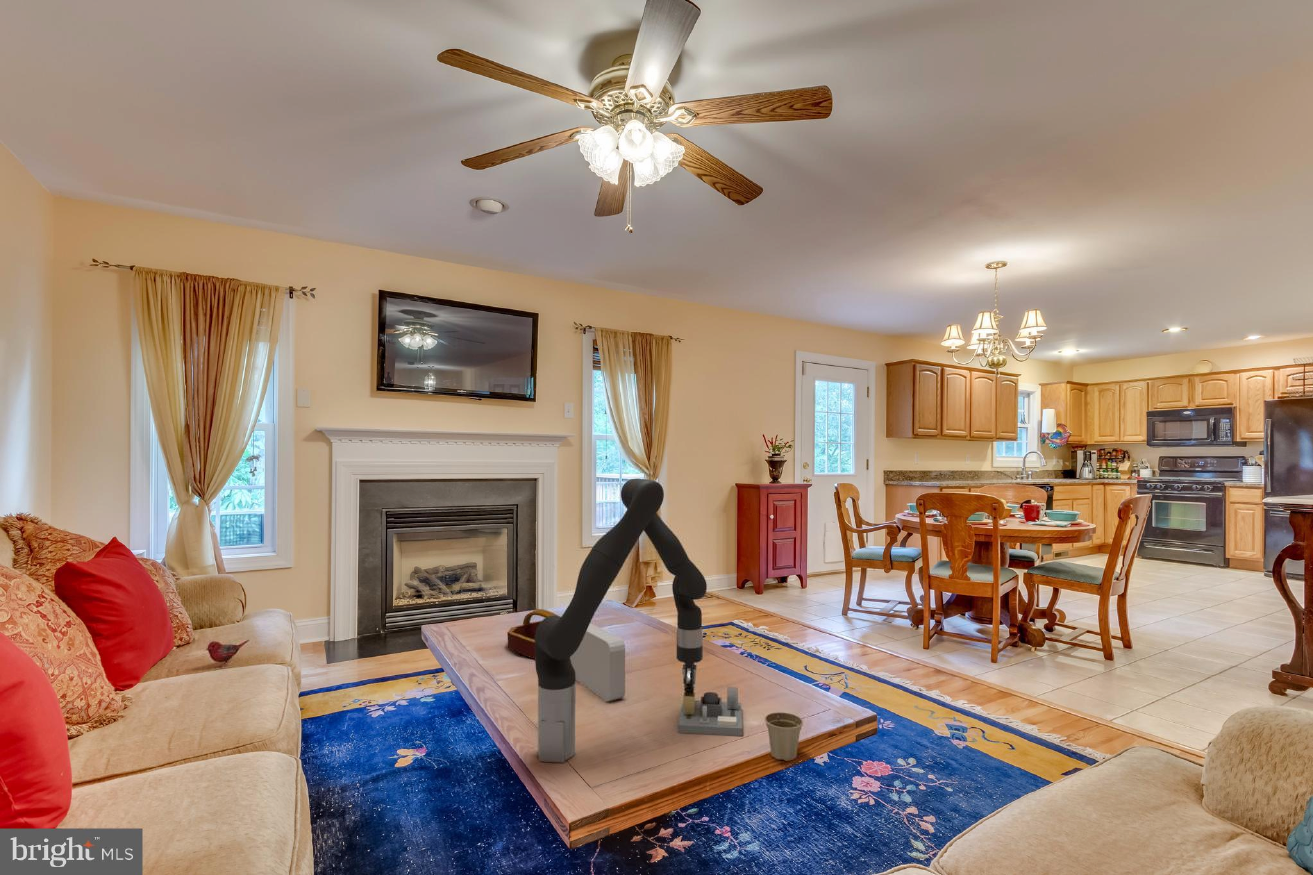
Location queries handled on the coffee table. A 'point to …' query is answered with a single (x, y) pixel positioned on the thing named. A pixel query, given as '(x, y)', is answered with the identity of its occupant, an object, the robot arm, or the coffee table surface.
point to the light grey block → (732, 697)
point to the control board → (711, 719)
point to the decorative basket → (526, 634)
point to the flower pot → (783, 734)
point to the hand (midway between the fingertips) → (689, 703)
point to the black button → (711, 698)
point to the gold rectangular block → (689, 703)
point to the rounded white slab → (601, 663)
